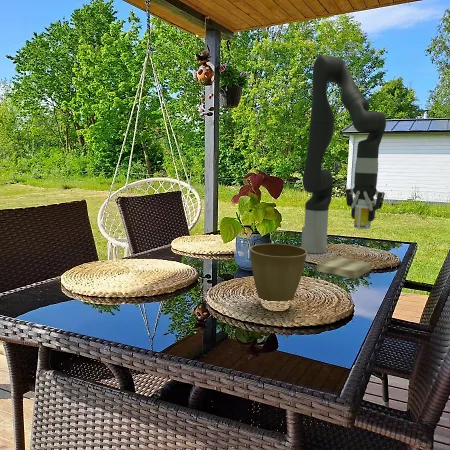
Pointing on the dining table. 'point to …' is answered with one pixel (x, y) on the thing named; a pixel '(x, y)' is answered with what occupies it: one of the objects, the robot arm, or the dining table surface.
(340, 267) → the birch board
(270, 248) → the plant pot
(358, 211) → the supplement bottle
